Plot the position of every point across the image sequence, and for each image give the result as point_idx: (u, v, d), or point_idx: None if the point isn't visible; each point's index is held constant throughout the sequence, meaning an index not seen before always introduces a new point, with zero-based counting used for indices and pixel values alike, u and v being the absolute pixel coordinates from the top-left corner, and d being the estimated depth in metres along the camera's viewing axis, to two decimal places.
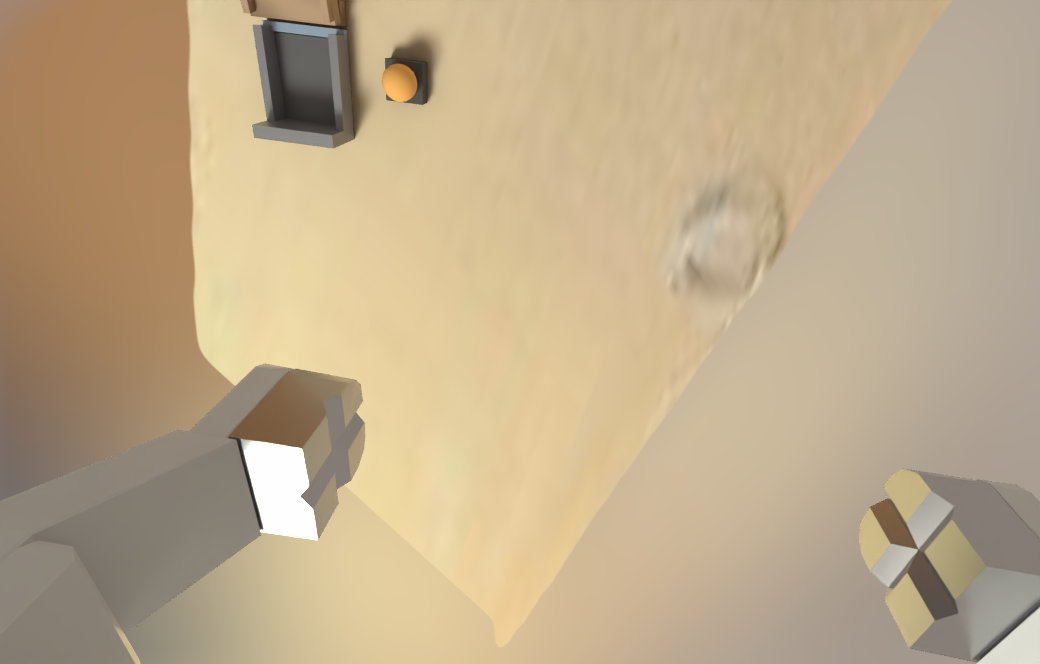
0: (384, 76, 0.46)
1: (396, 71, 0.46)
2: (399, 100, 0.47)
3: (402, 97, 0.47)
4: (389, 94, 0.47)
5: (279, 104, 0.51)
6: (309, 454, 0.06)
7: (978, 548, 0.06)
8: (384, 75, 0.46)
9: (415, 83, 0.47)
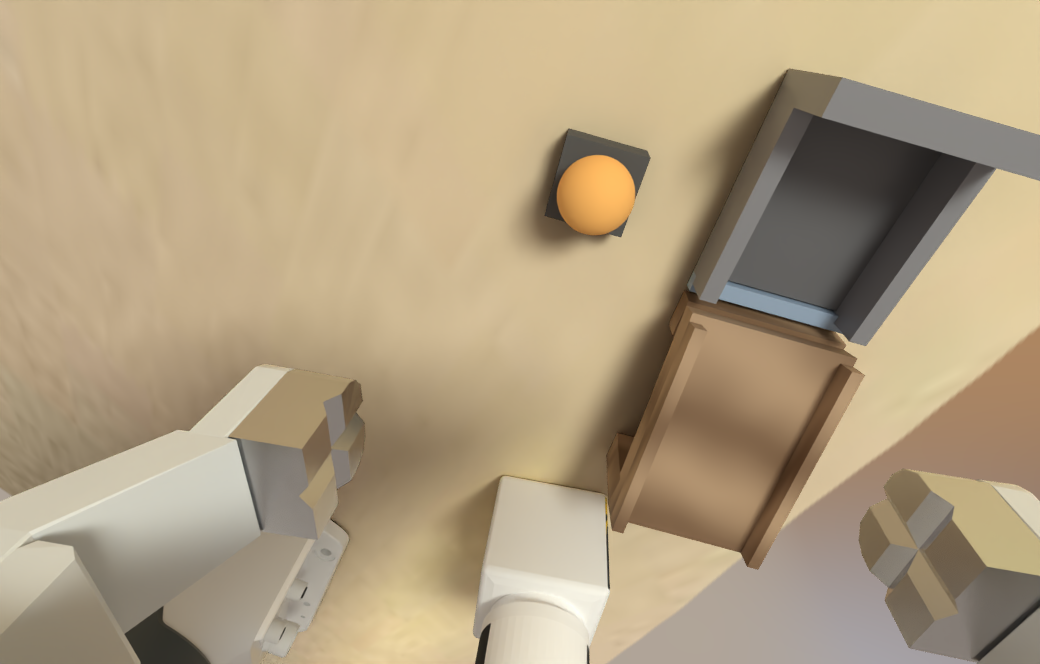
0: (615, 222, 0.20)
1: (584, 228, 0.20)
2: (602, 164, 0.19)
3: (591, 171, 0.19)
4: (619, 184, 0.19)
5: (931, 190, 0.21)
6: (309, 454, 0.06)
7: (978, 548, 0.06)
8: (616, 223, 0.20)
9: (557, 190, 0.21)
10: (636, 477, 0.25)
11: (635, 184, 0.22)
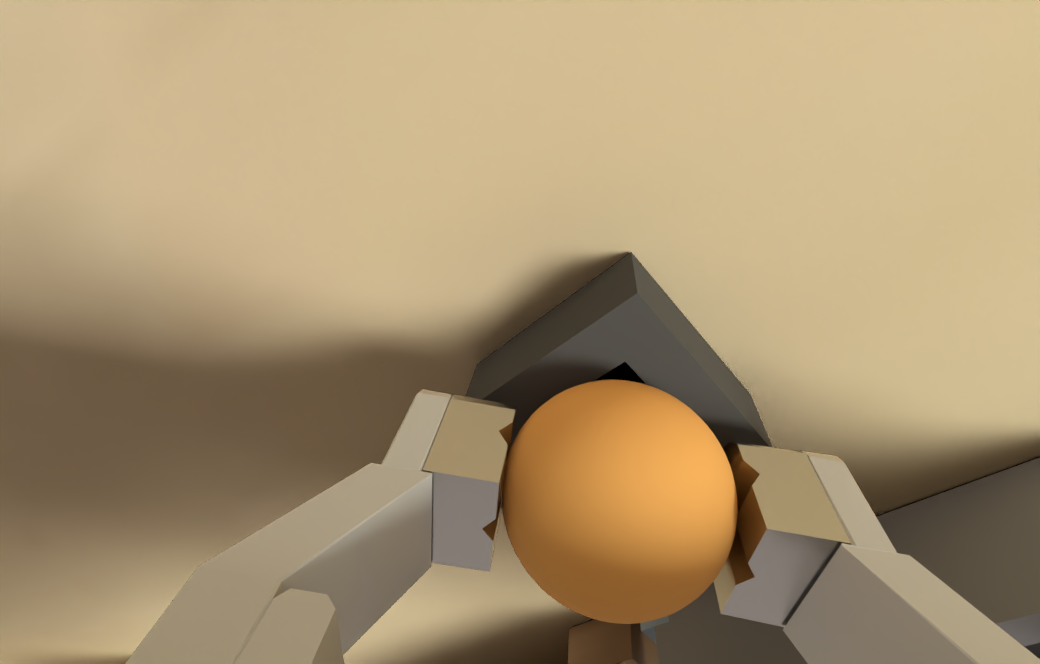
0: None
1: (543, 589, 0.07)
2: (704, 483, 0.06)
3: (666, 493, 0.06)
4: (713, 565, 0.06)
5: None
6: (499, 487, 0.06)
7: (767, 512, 0.06)
8: None
9: (531, 438, 0.07)
10: None
11: None
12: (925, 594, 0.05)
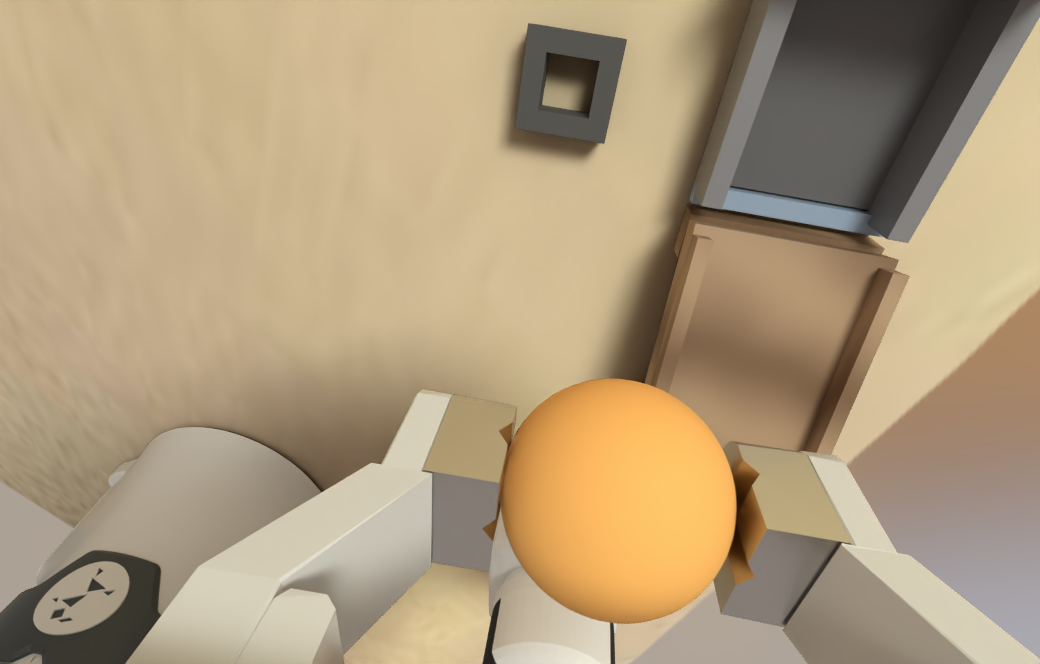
0: None
1: (541, 588, 0.07)
2: (702, 481, 0.06)
3: (664, 492, 0.06)
4: (712, 565, 0.06)
5: (973, 36, 0.17)
6: (499, 486, 0.06)
7: (767, 512, 0.06)
8: None
9: (529, 437, 0.07)
10: None
11: (613, 75, 0.19)
12: (925, 593, 0.05)
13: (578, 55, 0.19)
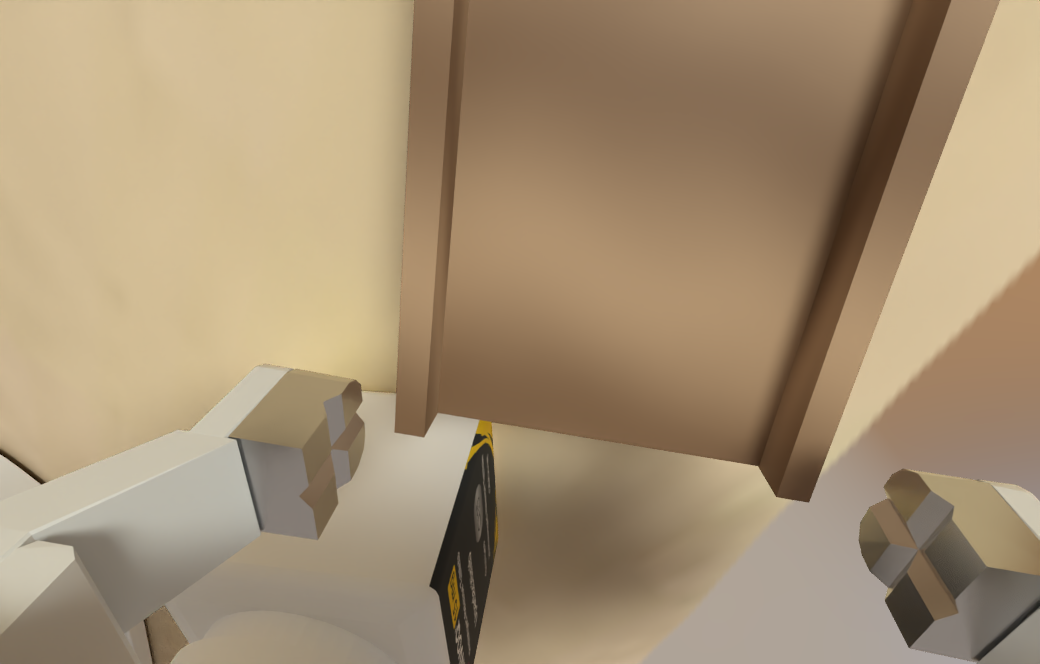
0: None
1: None
2: None
3: None
4: None
5: None
6: (309, 454, 0.06)
7: (978, 548, 0.06)
8: None
9: None
10: (409, 262, 0.09)
11: None
12: None
13: None
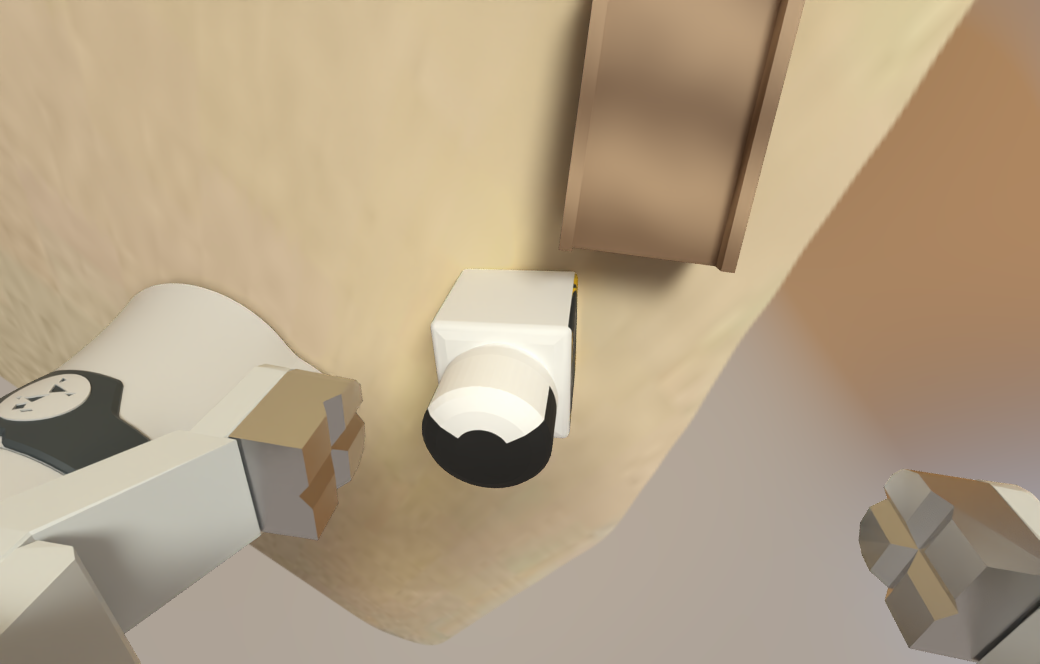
0: None
1: None
2: None
3: None
4: None
5: None
6: (309, 454, 0.06)
7: (978, 548, 0.06)
8: None
9: None
10: (572, 173, 0.22)
11: None
12: None
13: None
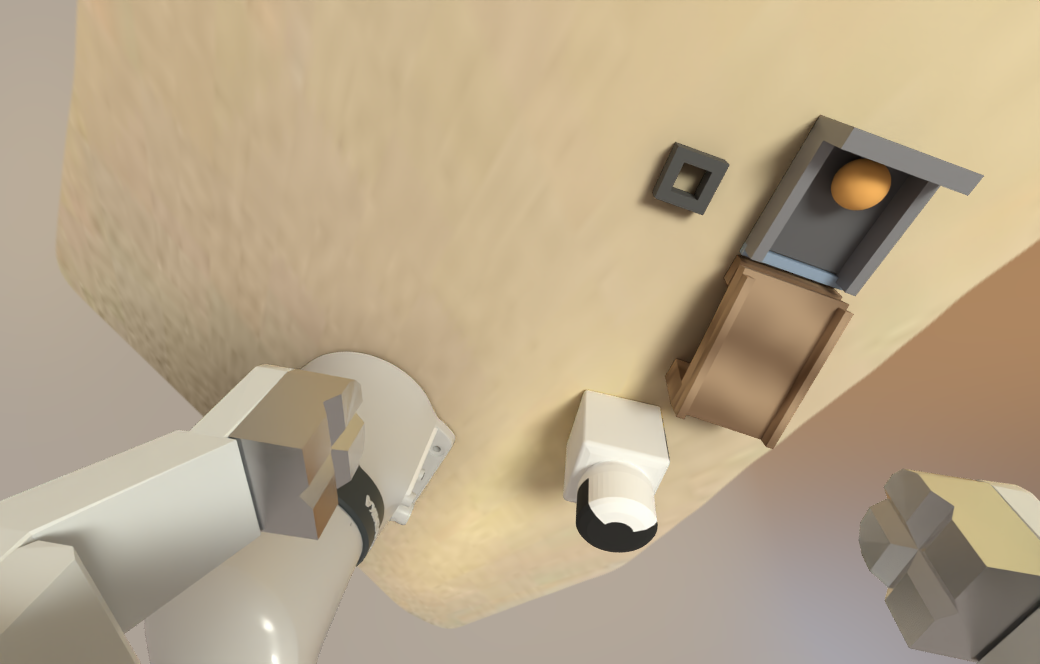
0: None
1: None
2: (879, 197, 0.31)
3: (870, 199, 0.31)
4: (871, 206, 0.32)
5: (902, 196, 0.33)
6: (309, 454, 0.06)
7: (978, 548, 0.06)
8: None
9: (850, 178, 0.31)
10: (697, 378, 0.37)
11: (717, 181, 0.34)
12: None
13: (701, 167, 0.33)
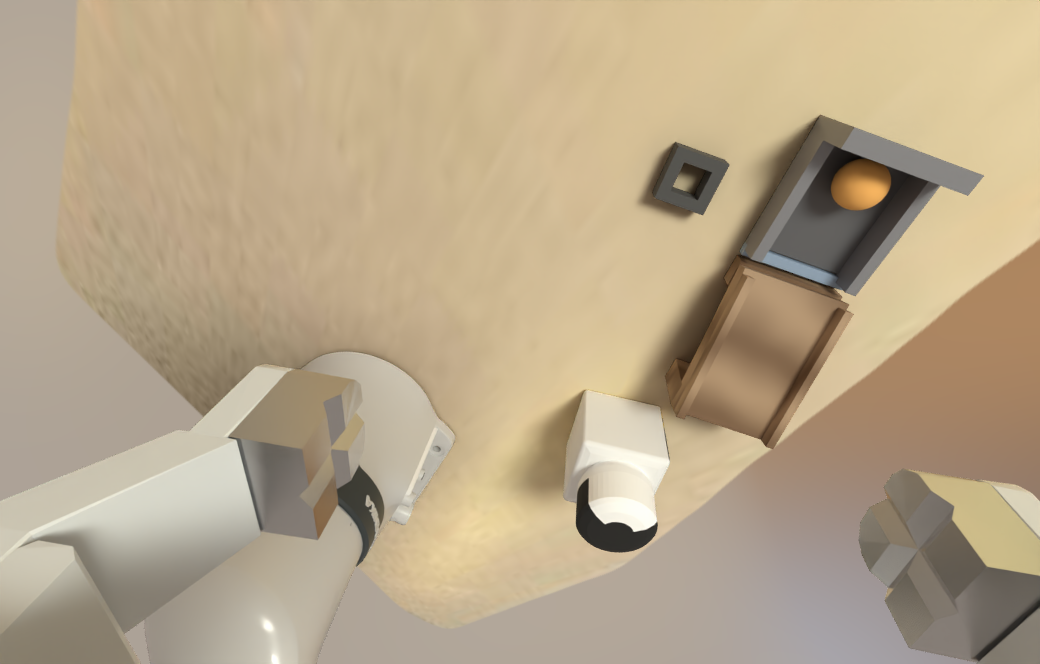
0: None
1: None
2: (879, 197, 0.31)
3: (870, 199, 0.31)
4: None
5: (902, 196, 0.33)
6: (309, 454, 0.06)
7: (978, 548, 0.06)
8: None
9: (850, 178, 0.31)
10: (697, 378, 0.37)
11: (717, 181, 0.34)
12: None
13: (701, 167, 0.33)
